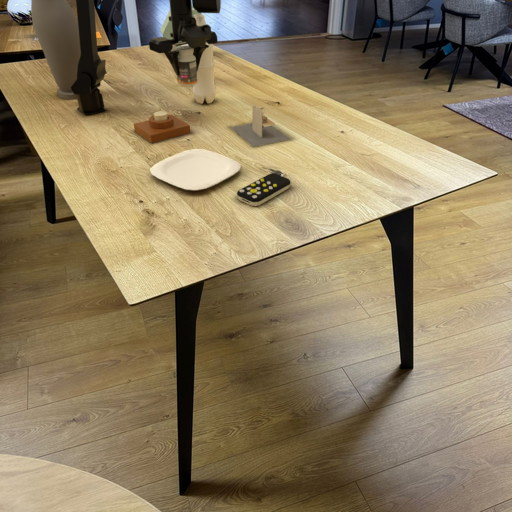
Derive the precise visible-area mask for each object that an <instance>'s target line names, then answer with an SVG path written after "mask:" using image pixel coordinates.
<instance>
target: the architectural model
mask: <svg viewBox="0 0 512 512" xmlns="http://www.w3.org/2000/svg"><path fill="white" fill-rule="evenodd" d="M251 108H252V109H251V110H252V114H251V115H252V119H251V120H252V121H251V123H245V124H240V125H235V126H230V129H231V130H233V132H235V133H236V134H238V136H240V137H241V138H242V139H243V140H245V142H247V143H248V144H249V145H251V146H252V147H253V148H257V147H260V146H261V147H262V146H265V145H270V144H276V143H280V142H285V141H289V140H291V138H290V137H289V136H288V135H286V134H284V133H283V132H282V131H280V130H279V129H278V128H276V127H275V126H276V123H275V122H274V121H272V120H270V119H269V118H268V116H266V115H265V114H264V113H263V110H264V108H265V106H260V107H258V106H257V105H255V104H254V103H252V107H251Z"/></svg>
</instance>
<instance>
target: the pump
mask: <svg viewBox="0 0 512 512" xmlns="http://www.w3.org/2000/svg"><path fill="white" fill-rule="evenodd" d="M167 114H168V112H167V111H163V110H157V111H156V112H155V111H154V113H153V115H154V120H155V121H164V120H167V119H168V116H167Z"/></svg>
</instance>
